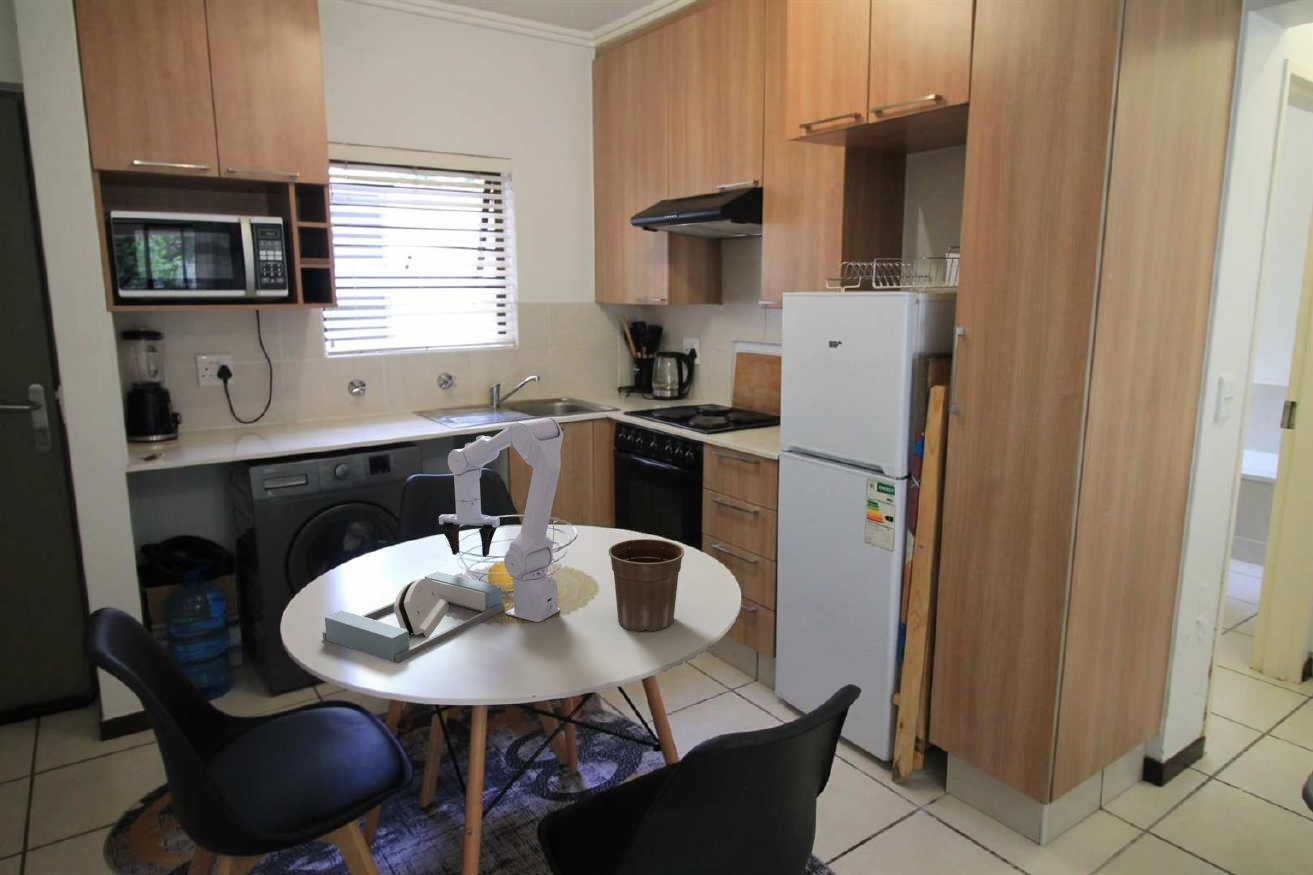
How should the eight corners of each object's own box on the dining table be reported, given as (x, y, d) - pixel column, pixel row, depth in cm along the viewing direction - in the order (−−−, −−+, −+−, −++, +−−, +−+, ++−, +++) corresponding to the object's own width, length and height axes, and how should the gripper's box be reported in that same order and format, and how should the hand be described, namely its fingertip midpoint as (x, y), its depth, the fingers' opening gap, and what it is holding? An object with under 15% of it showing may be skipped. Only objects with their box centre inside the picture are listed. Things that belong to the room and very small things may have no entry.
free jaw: (502, 607, 179) (501, 586, 178) (488, 614, 175) (487, 593, 174) (438, 591, 189) (437, 571, 188) (424, 597, 185) (422, 577, 184)
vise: (504, 609, 178) (503, 588, 177) (397, 663, 152) (396, 639, 151) (433, 591, 189) (432, 571, 188) (323, 638, 163) (321, 616, 162)
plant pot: (698, 617, 174) (698, 546, 171) (656, 643, 160) (656, 567, 158) (638, 601, 183) (637, 534, 180) (594, 625, 169) (593, 553, 167)
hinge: (427, 638, 163) (409, 595, 162) (407, 645, 163) (387, 602, 162) (450, 606, 180) (433, 567, 178) (431, 613, 180) (414, 574, 178)
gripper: (503, 495, 187) (506, 550, 189) (447, 493, 190) (450, 547, 192) (491, 503, 180) (494, 560, 182) (433, 500, 183) (436, 556, 185)
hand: (470, 554), depth 187 cm, fingers open, 7 cm apart
